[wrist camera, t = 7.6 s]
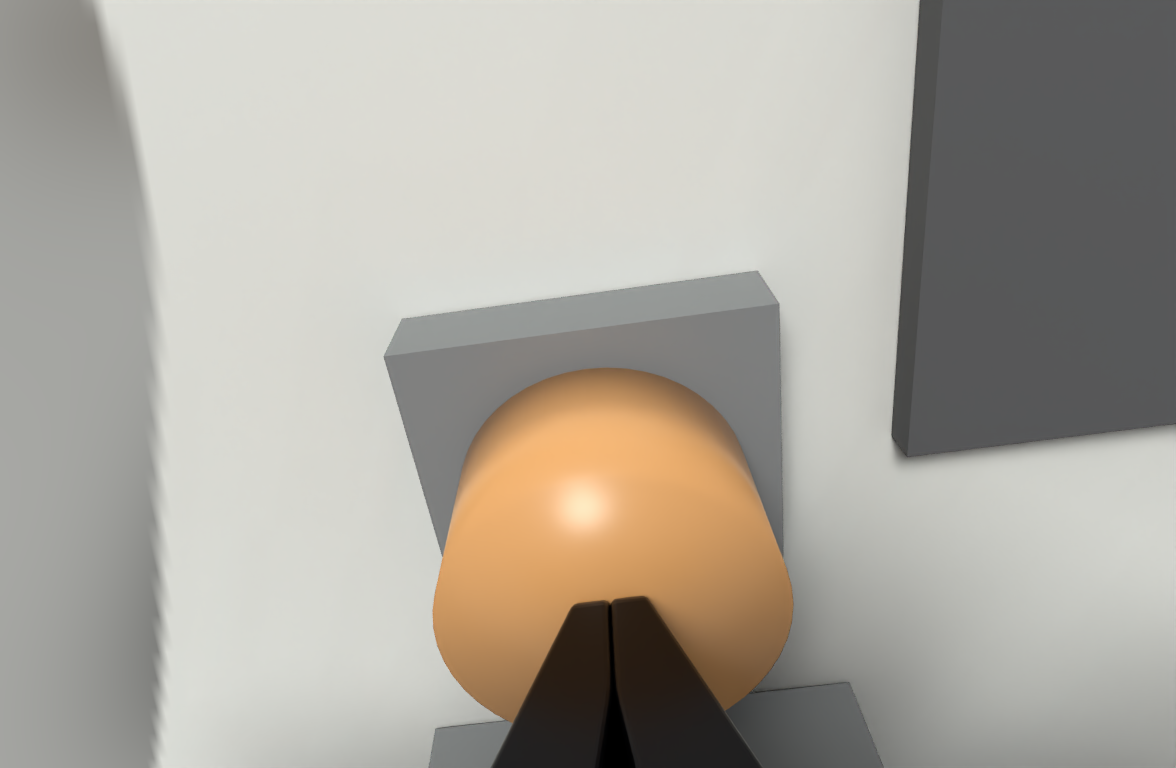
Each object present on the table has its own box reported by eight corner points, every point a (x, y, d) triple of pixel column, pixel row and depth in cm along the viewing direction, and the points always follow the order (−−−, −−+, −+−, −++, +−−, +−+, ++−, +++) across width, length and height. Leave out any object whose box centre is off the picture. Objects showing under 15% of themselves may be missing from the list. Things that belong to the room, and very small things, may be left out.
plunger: (736, 534, 12) (793, 724, 9) (497, 562, 13) (473, 758, 9) (724, 311, 11) (792, 453, 7) (443, 348, 11) (391, 503, 8)
